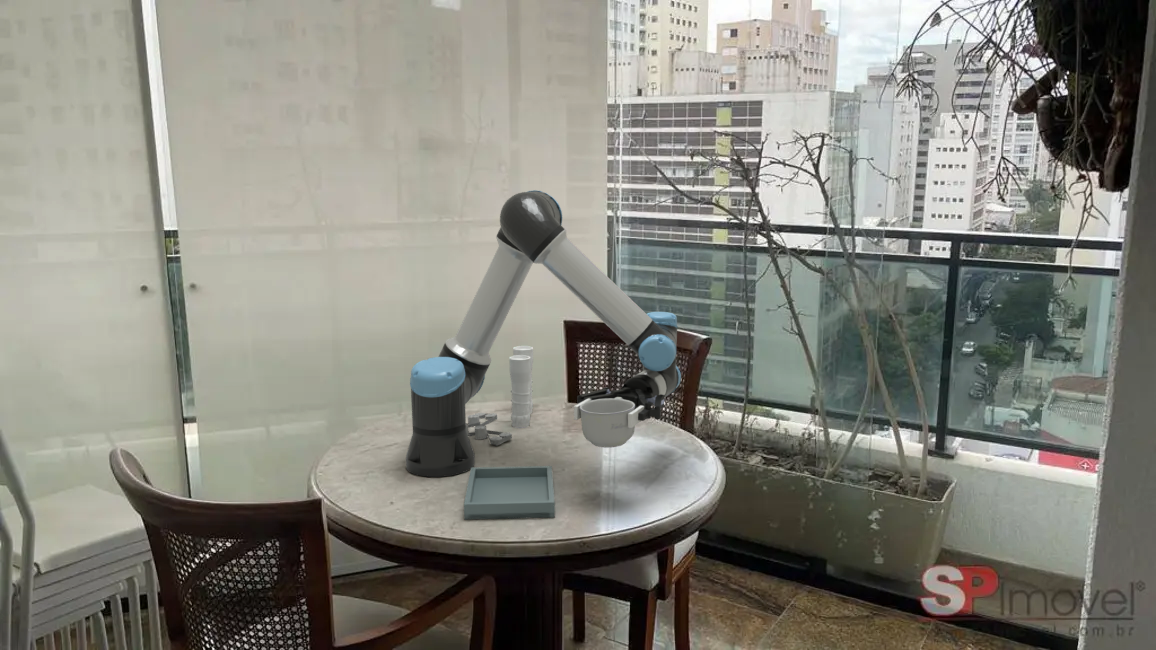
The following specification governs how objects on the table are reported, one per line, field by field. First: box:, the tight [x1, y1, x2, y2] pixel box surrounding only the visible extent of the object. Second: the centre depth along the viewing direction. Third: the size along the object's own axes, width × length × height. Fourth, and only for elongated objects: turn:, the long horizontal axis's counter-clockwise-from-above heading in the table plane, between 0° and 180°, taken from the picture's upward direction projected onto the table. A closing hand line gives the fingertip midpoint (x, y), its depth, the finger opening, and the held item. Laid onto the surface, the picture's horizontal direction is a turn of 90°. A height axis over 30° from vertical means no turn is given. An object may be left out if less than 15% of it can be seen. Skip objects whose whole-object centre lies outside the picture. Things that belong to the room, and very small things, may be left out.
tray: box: [463, 465, 556, 521], centre depth 167 cm, size 17×20×3 cm
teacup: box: [580, 397, 636, 449], centre depth 166 cm, size 14×11×8 cm
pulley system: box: [466, 412, 513, 447], centre depth 211 cm, size 27×5×15 cm
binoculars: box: [508, 345, 534, 429], centre depth 220 cm, size 17×5×18 cm, turn 0°
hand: (602, 417), depth 162 cm, fingers closed on teacup, 11 cm apart
